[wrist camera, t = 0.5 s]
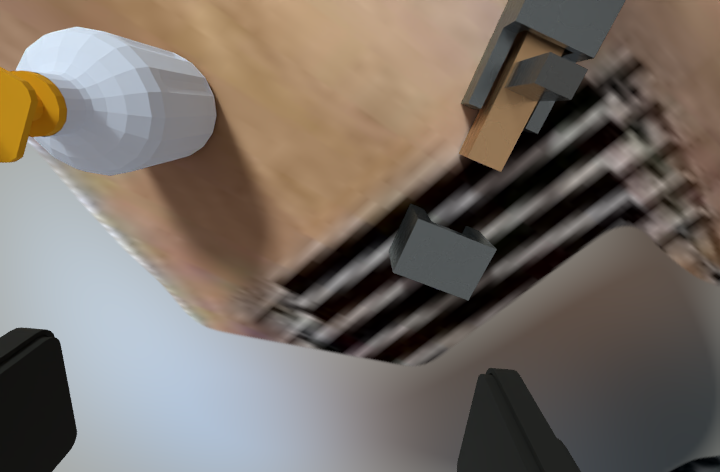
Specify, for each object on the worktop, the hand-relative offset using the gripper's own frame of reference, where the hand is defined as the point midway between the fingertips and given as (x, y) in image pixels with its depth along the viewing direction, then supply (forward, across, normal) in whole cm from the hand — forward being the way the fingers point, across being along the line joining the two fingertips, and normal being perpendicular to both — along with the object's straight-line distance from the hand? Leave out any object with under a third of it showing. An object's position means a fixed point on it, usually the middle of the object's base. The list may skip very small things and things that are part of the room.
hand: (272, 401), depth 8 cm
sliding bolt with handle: (+28, -14, -11) cm, 34 cm away
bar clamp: (+29, -13, -6) cm, 32 cm away
